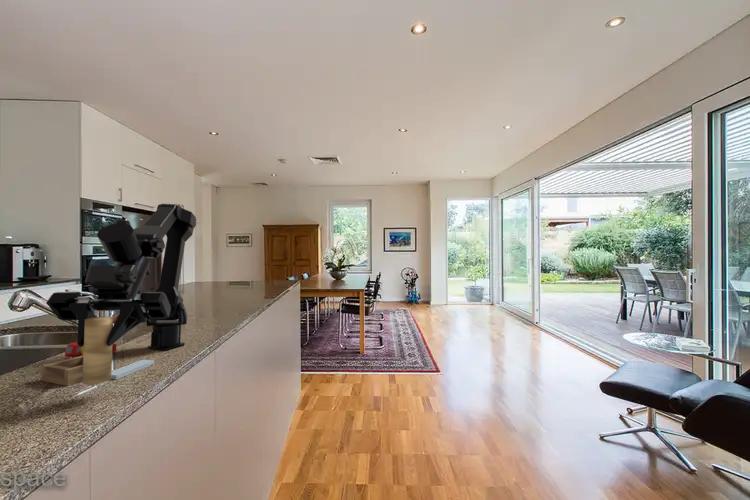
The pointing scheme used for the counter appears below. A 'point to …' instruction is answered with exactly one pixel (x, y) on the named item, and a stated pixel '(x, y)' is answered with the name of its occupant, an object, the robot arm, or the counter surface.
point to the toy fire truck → (75, 350)
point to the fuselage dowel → (97, 350)
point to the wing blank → (130, 368)
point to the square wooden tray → (64, 371)
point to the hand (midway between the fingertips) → (94, 345)
